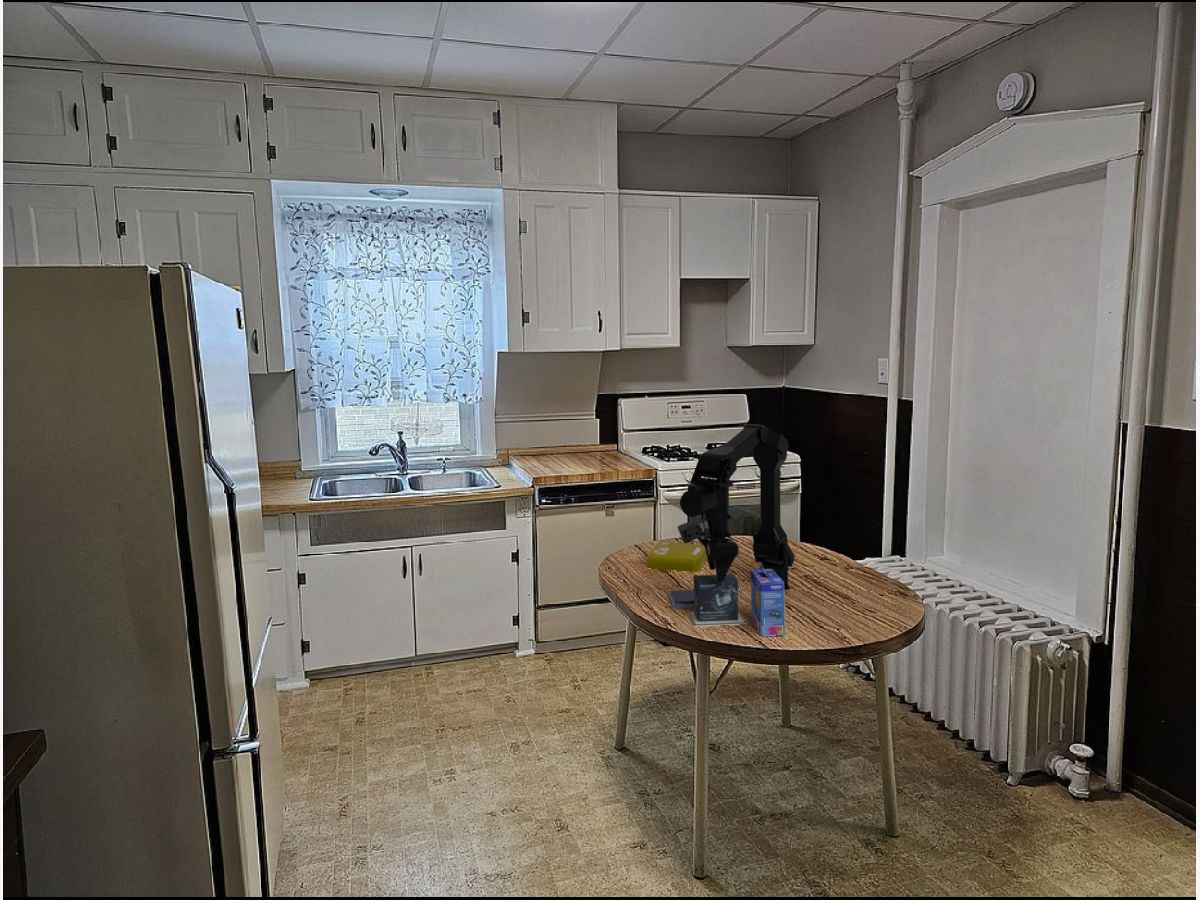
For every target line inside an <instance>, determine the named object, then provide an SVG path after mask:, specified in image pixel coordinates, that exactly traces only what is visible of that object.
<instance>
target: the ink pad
mask: <svg viewBox="0 0 1200 900" xmlns="http://www.w3.org/2000/svg"><path fill="white" fill-rule="evenodd" d="M667 593H668V594H667V597H668V599H669V601H670V604H671V606H672V609H673V610H690V609H691V610H694V589H679V590H670V591H668V592H667Z"/></svg>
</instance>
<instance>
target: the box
mask: <svg viewBox="0 0 1200 900" xmlns="http://www.w3.org/2000/svg"><path fill="white" fill-rule="evenodd" d="M693 590H694V609H693V611H694V614H695V616H696V618H697V620H698V621H720V620H738V609H739V580H738V578H737V577H736V576H735V574H733V573H727V574H726V576H725V578H724V581H723V582H718V580H717V575H716V574H700V575H699V574H694V575H693Z"/></svg>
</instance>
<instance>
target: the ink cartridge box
mask: <svg viewBox="0 0 1200 900" xmlns="http://www.w3.org/2000/svg"><path fill="white" fill-rule="evenodd" d="M757 564H758V566H759V567H760V568H761V569H759V568H754V569H753V568H751V569H750V593H751V594H750V596H751V597H750V599H751V600H750V601H751V603H750V606H751V607H750V608H751V610H750V611H751V622H752V623H754V624H753V625H754V627H755V629H756V628H757V629H756V631H757V632H758V634H759V636H760V637H761V636H767V637H777V636H776V635H785V636H786V617H785V616H786V615H785V614H786V612H785V589H784V582H783V580H782V579H781V578H780V577H779V576H778V575H777V574H776V572H775V571H774V570H773V569H763V568H762V566H761V563H760V562H757Z"/></svg>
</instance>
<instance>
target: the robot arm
mask: <svg viewBox="0 0 1200 900" xmlns="http://www.w3.org/2000/svg"><path fill="white" fill-rule="evenodd" d="M751 451H752V458H753V461H754V462H755V464H756V465H757V467H758V469H759V486H760V487H759V489H760V490H759V492H760V493H759V494H760V496H759V498H760V499H759V500H760V504H759V505H760V526H759V528H758V530H757V531H756V532H754V533H753V535H752V541H753V543H752V550H753V556H754V561H755V563H759V564H760V565H761V566H762V568H763V569H773V570H774V571H775V572H776V574H777V575H778V576H779V577H780V578H781V579H782V580H783V582H784V590H791V589H790V588H791V587H790V585H789V567H790V568H791V567H793V565H794V562H795V556H796V555H795V554H794V552H793V551H792V549H791V548H790V545H789V542H788V541H789V540H788V535H787V533H786V532H785V530H784V528H783V526H782V523H781V468H782V466H783V465H784V463H785V462H786V461H787V457H788V451H789V442H788V439H787V438H786V437H785V435H783V434H780V433H778V432H776V431H774V430H772V429H770V428H768V427H767V426H766V425H763V424H755V423H753V424H752V423H751V424H750V423H748V424H746V425H744V426H743V429H741V430H740V431H738V433H737V434H736V435H734V436H733V437H732V438H730V440H728V441H727V442H726V443H725V444H723V445H722V446H719V447H716V448H711V449H709V450H707V451H704V452H702V454H701V455H700V456H699V458H698V460H697V463H696V466H695V468H694V471H693V473H692V475H691V476H692V477H691V479H690V481H689V482H690V484H688V485H687V490H686V491H684V492H683V493H682V495H681V497H680V499H679V506H680V509H681V511H682V512H683V513H684V514H685V515H686V516H687V517H690V518H693V517H698V516H699V517H698V518H696V519H692V520H689V521H687V522H685V523H682V524H679V525H678V526H677V530H678V532H679V535H680V538H681V539H682V541H683V543H685V544H690V543H691V542H692V541H694V540H696V539H697V540H698V542H699V544H700V543H701V544H702V545H704V547H705V551H706V555H707V563H708V567H709V570H710V571H714V570H715V573H716V574H715V575H717V580H718V582H723V581H724V578H725V576H726V574H728V572H729V570H730V568H731V566H732V564H733V562H734V560H735V558H737V556H738V555H739V553H740V551H739V549H740V548H739V547H740V546H739V545H738V544H737V542H736V541H735V540H733V538H732V533H731V531H730V520H732V514H731V513H730V487H733V486H734V482H733V481H732V480H730V479H731V477H732V476H733V475H734V474H735V472H736V471H737V469H738V468H737V465H738V462H739V461H740V460H741V459H743V458H744V457H745V456H746V455H748V454H749V453H750V452H751ZM758 569H761V568H760V566H759V567H758Z"/></svg>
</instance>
